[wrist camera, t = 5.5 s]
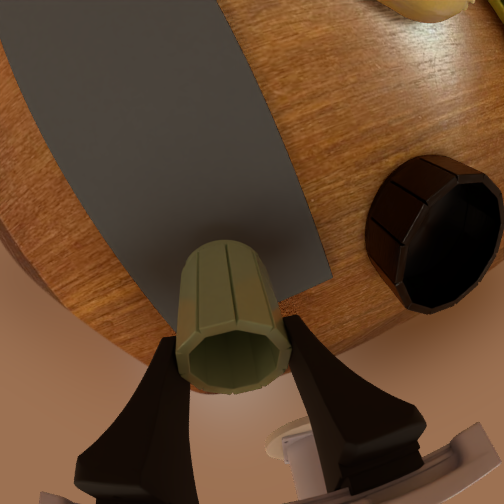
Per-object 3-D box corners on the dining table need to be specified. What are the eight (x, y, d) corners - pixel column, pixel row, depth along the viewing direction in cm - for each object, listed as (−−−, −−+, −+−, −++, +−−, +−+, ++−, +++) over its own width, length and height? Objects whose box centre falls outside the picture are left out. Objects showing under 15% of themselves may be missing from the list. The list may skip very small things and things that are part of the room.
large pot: (455, 265, 23) (484, 293, 19) (360, 291, 23) (385, 329, 19) (473, 154, 18) (514, 172, 14) (366, 158, 17) (407, 179, 14)
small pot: (273, 295, 17) (299, 378, 12) (197, 315, 17) (199, 402, 12) (255, 228, 15) (282, 306, 10) (168, 253, 15) (155, 339, 10)
